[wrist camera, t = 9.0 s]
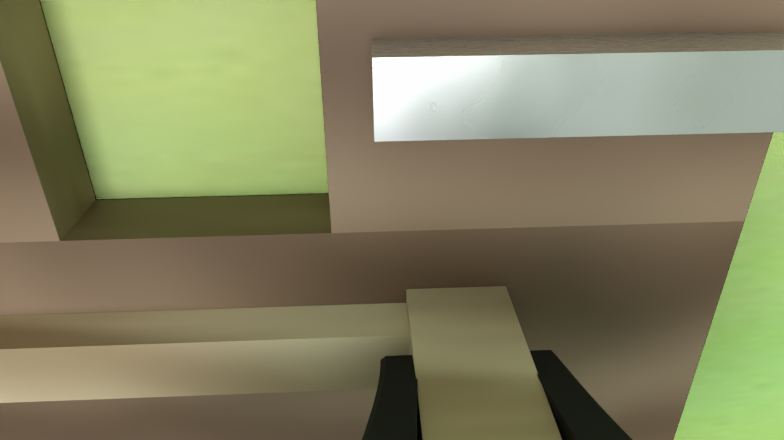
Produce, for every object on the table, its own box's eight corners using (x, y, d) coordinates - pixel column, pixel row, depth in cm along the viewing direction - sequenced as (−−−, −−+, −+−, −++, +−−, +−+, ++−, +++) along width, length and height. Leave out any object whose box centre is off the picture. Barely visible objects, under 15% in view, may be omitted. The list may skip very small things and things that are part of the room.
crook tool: (497, 361, 15) (568, 606, 10) (-259, 389, 15) (-609, 665, 9) (526, 89, 12) (658, 246, 6) (-467, 110, 11) (-1210, 301, 6)
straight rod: (758, 106, 12) (806, 131, 11) (372, 114, 12) (374, 141, 11) (780, 31, 11) (835, 49, 10) (370, 38, 11) (372, 57, 10)
